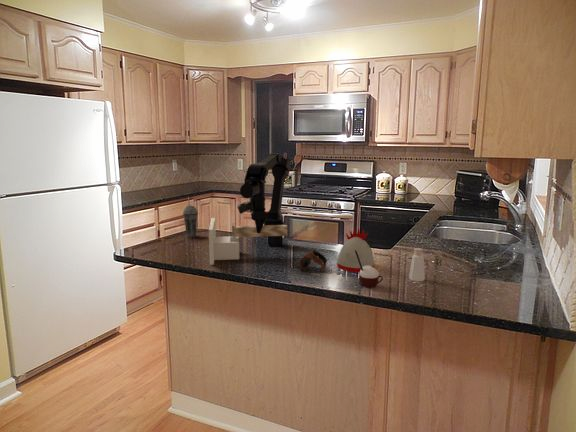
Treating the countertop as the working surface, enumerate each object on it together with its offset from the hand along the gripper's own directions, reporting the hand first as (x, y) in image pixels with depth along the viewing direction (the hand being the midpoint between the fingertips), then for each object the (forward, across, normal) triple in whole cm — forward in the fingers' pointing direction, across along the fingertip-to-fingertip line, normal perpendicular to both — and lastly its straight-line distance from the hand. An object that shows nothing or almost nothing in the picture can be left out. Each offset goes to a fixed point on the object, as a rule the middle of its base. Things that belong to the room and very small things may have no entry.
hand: (258, 232), depth 175 cm
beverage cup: (+10, -38, -31) cm, 50 cm away
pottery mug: (+10, +24, +18) cm, 31 cm away
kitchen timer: (+10, +21, +36) cm, 43 cm away
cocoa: (+10, +42, +34) cm, 55 cm away
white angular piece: (+10, 0, -13) cm, 16 cm away
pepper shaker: (+10, +38, +53) cm, 66 cm away
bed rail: (+2, 0, +1) cm, 2 cm away
